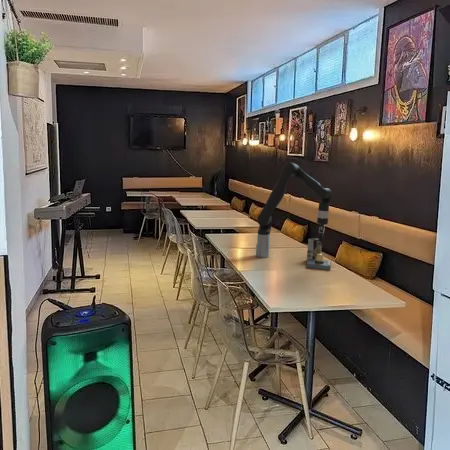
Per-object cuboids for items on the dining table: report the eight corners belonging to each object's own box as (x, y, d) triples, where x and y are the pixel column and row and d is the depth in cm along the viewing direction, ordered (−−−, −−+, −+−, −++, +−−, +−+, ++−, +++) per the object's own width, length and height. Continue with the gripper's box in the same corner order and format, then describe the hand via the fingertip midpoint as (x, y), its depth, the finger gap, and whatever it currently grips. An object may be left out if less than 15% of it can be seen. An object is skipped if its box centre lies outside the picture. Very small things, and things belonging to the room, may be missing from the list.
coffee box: (313, 261, 338) (314, 240, 335) (306, 259, 343) (307, 238, 340) (321, 260, 344) (322, 239, 341) (314, 258, 348) (315, 237, 346)
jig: (306, 267, 318) (306, 262, 317) (308, 262, 333) (308, 257, 333) (330, 270, 314) (330, 265, 313) (330, 265, 329) (331, 260, 329)
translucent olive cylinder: (315, 266, 322) (316, 254, 321) (315, 265, 326) (316, 253, 325) (321, 267, 321) (322, 255, 320) (322, 266, 325) (323, 253, 324)
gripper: (318, 215, 326) (316, 237, 328) (316, 217, 312) (314, 241, 315) (328, 216, 324) (326, 238, 326) (327, 218, 310) (325, 242, 313)
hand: (320, 239), depth 321 cm, fingers open, 8 cm apart
